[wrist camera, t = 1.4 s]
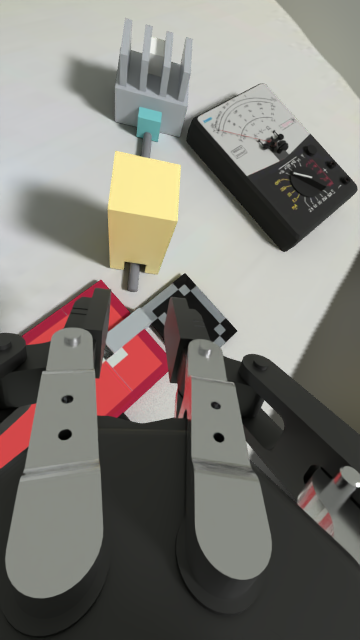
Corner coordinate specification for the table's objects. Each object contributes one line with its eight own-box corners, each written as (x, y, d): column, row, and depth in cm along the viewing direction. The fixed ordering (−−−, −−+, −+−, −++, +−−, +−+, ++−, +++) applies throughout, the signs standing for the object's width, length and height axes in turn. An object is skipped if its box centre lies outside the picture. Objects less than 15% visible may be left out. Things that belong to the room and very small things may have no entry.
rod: (144, 293, 29) (147, 284, 27) (119, 290, 29) (120, 281, 26) (161, 93, 36) (165, 71, 34) (141, 88, 36) (143, 65, 33)
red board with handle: (245, 345, 31) (155, 245, 32) (257, 341, 28) (158, 232, 29) (-7, 597, 22) (-125, 448, 22) (-25, 627, 19) (-159, 456, 20)
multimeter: (282, 255, 35) (308, 234, 30) (183, 142, 36) (193, 105, 31) (340, 206, 39) (371, 181, 34) (250, 105, 40) (268, 67, 35)
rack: (179, 137, 35) (194, 78, 29) (115, 121, 34) (114, 55, 27) (182, 100, 37) (196, 36, 30) (120, 83, 35) (121, 13, 29)
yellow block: (157, 274, 30) (177, 221, 21) (110, 267, 29) (107, 209, 20) (160, 232, 31) (180, 165, 22) (115, 225, 30) (115, 150, 21)
